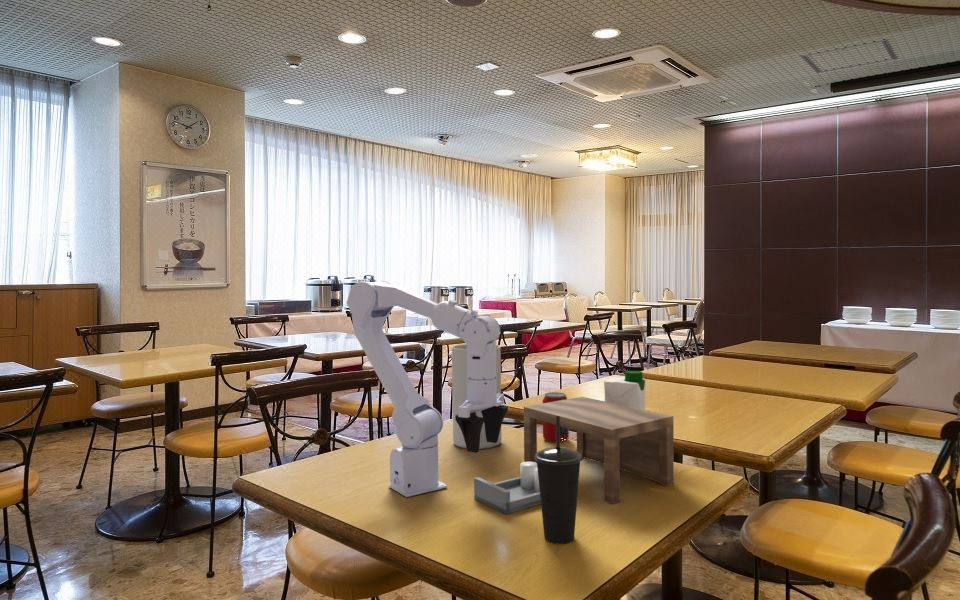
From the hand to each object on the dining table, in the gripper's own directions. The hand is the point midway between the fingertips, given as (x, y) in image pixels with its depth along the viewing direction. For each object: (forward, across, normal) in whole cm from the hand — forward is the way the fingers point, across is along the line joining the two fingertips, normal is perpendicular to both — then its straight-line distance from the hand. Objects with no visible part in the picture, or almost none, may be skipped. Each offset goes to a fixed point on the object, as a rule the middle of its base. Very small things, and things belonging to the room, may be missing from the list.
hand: (482, 446), depth 120 cm
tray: (+10, +3, -7) cm, 12 cm away
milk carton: (+10, +39, -16) cm, 44 cm away
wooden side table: (+10, +21, -16) cm, 28 cm away
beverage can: (+10, +44, +3) cm, 45 cm away
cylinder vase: (+10, +32, +20) cm, 39 cm away
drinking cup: (+10, -11, -21) cm, 25 cm away
